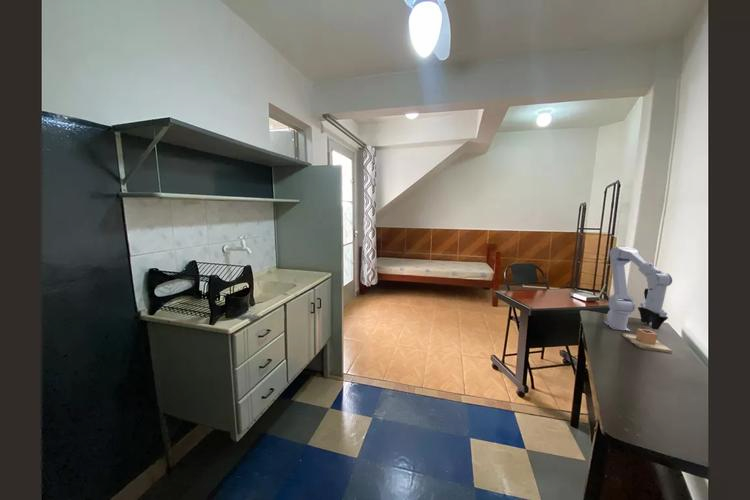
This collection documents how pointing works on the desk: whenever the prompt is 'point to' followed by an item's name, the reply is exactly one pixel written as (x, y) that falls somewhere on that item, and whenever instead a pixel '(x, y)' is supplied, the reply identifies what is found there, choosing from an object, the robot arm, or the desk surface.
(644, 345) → the post board
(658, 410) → the desk surface
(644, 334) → the square collar
